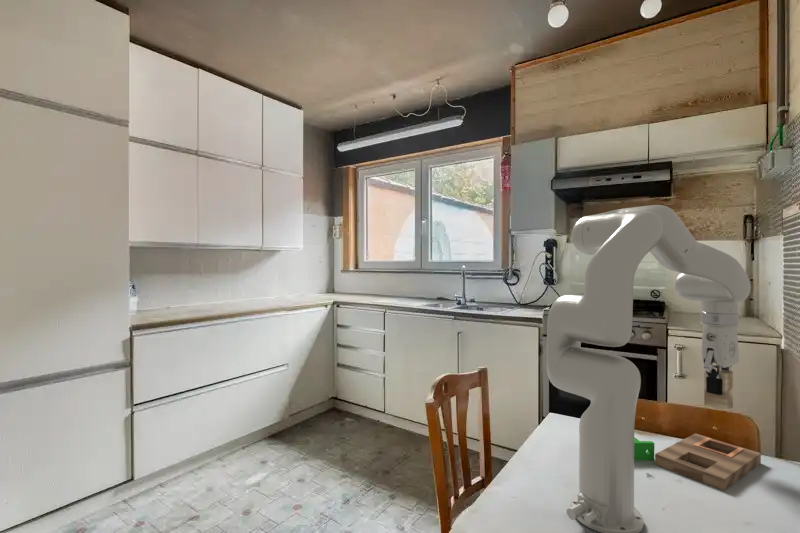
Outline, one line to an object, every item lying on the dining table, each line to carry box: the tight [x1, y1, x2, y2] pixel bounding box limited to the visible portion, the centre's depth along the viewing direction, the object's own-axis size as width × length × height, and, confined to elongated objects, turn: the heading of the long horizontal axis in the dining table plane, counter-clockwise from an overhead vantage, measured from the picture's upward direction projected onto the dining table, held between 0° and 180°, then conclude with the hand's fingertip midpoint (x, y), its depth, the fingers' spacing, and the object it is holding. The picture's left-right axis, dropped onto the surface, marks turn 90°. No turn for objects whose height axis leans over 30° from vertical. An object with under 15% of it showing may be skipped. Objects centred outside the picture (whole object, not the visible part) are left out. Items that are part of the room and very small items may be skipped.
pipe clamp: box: [634, 436, 655, 461], centre depth 104 cm, size 11×4×5 cm, turn 89°
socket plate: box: [654, 433, 762, 491], centre depth 101 cm, size 22×14×3 cm, turn 123°
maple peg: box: [703, 368, 734, 411], centre depth 104 cm, size 4×4×9 cm
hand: (718, 391), depth 104 cm, fingers closed on maple peg, 4 cm apart
